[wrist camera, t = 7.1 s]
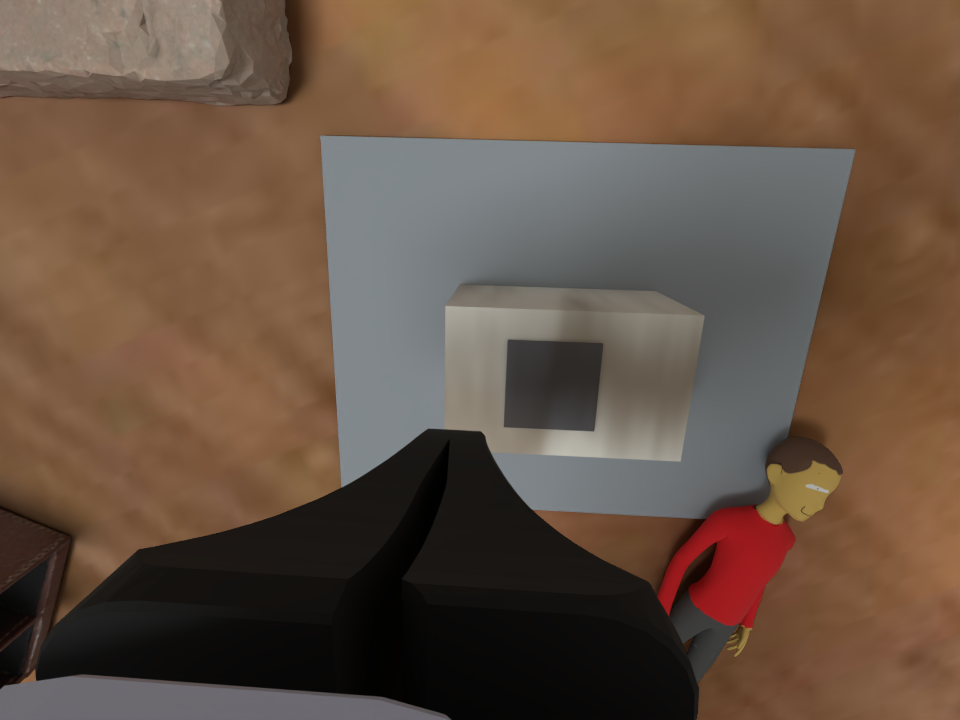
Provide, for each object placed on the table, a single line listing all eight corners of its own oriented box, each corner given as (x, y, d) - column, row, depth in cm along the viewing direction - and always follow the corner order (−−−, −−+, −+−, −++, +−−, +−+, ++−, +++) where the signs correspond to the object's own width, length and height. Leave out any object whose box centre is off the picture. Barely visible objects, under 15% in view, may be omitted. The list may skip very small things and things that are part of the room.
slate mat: (764, 518, 23) (767, 522, 22) (344, 495, 23) (342, 498, 23) (849, 150, 18) (855, 149, 18) (323, 137, 19) (320, 135, 18)
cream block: (458, 397, 21) (640, 405, 21) (443, 451, 16) (681, 462, 16) (459, 284, 20) (655, 291, 20) (444, 306, 15) (706, 316, 15)
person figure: (603, 787, 22) (834, 472, 16) (568, 699, 26) (750, 413, 20) (686, 780, 24) (920, 493, 18) (643, 698, 27) (829, 436, 22)
